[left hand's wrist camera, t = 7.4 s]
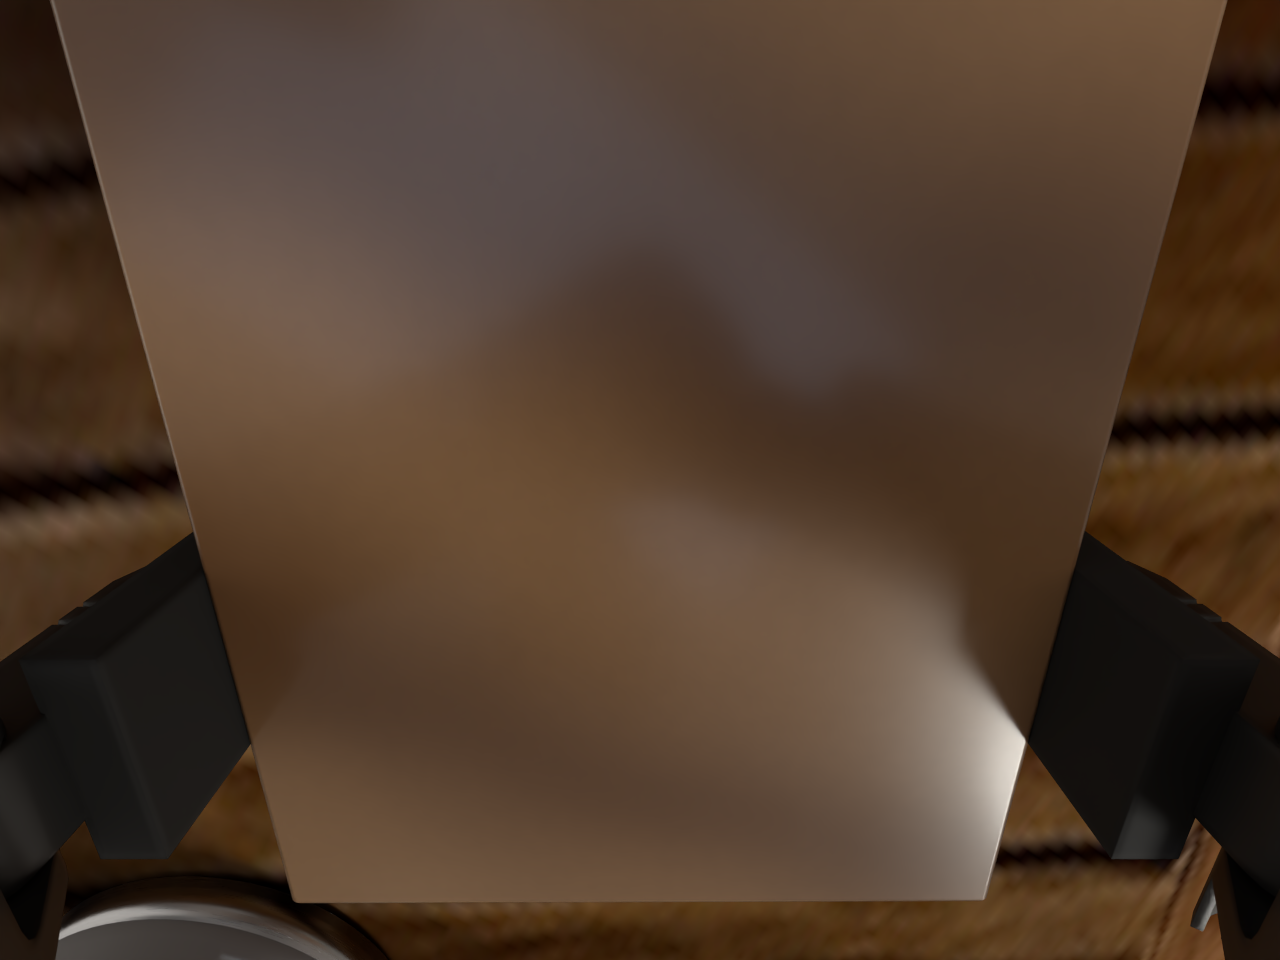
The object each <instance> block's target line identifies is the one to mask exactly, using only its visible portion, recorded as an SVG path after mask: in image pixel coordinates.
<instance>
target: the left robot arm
mask: <svg viewBox="0 0 1280 960" xmlns="http://www.w3.org/2000/svg"><path fill="white" fill-rule="evenodd" d="M83 603H84V605H83V607H76V608H75V609H74V610H72V611H71V612H69V613H68V614H67V615H65V616H64V617H62V618H61V619H60V620H59V623H58V625H51V626H50V627H48V628H47V629H46V630H44V631H43V632H41V633H40V634H39V635H37V636H36V637H34V638H33V639H32V640H30V641H29V642H27V643H26V644H25V645H23V646H22V647H20V648H19V649H18V650H16V651H15V652H13V653H12V654H11V655H9V656H8V657H7V658H5V659H4V660H2V661H1V662H0V960H388V959H387V958H386V956H385V955H384V954H383V953H382V952H381V951H380V950H379V949H378V948H377V947H376V946H375V945H374V944H373V943H372V942H371V941H370V940H369V939H367V938H366V937H365V936H364V935H363V934H362V933H360V932H359V931H358V930H356V929H355V928H353V927H352V926H351V925H349V924H348V923H346V922H345V921H343V920H342V919H340V918H338V917H337V916H335V915H333V914H332V913H330V912H328V911H326V910H324V909H322V908H320V907H318V906H316V905H314V904H312V903H297V902H294V901H293V899H292V895H290V894H287V893H284V892H281V891H278V890H275V889H271V888H268V887H264V886H260V885H256V884H252V883H247V882H242V881H236V880H230V879H223V878H213V877H197V876H176V877H160V878H152V879H144V880H139V881H135V882H130V883H126V884H122V885H119V886H116V887H112V888H110V889H107V890H105V891H102V892H100V893H97V894H95V895H93V896H91V897H89V898H88V899H86V900H84V901H82V902H81V903H79V904H78V905H76V906H75V907H74V908H72V909H71V910H70V911H69V912H68V913H67V914H65V915H64V916H63V910H64V904H65V898H66V892H67V885H68V879H69V878H68V873H67V867H66V863H65V861H64V859H63V857H62V854H61V852H60V850H59V848H60V847H61V846H62V845H63V844H64V843H65V842H66V841H67V840H68V838H69V837H70V836H71V835H72V834H73V833H74V832H75V831H76V830H77V828H78V827H79V826H80V825H81V824H82V823H83V822H84V821H85V822H86V825H87V827H88V830H89V832H90V834H91V837H92V839H93V842H94V844H95V847H96V849H97V851H98V854H99V856H100V859H168V858H169V856H170V855H171V854H172V852H173V851H174V849H175V848H176V847H177V845H178V844H179V842H180V841H181V840H182V838H183V837H184V836H185V834H186V833H187V831H188V830H189V829H190V827H191V826H192V824H193V823H194V822H195V820H196V819H197V818H198V816H199V815H200V813H201V812H202V811H203V809H204V808H205V806H206V805H207V804H208V802H209V801H210V799H211V798H212V797H213V795H214V794H215V793H216V791H217V790H218V788H219V787H220V786H221V784H222V783H223V781H224V780H225V779H226V777H227V776H228V775H229V773H230V772H231V770H232V769H233V768H234V766H235V765H236V763H237V762H238V761H239V759H240V758H241V756H242V755H243V754H244V752H245V751H246V750H247V748H248V747H249V745H250V744H251V743H250V740H249V736H248V732H247V729H246V725H245V721H244V717H243V714H242V710H241V706H240V703H239V699H238V695H237V692H236V688H235V684H234V680H233V677H232V673H231V669H230V666H229V662H228V658H227V655H226V651H225V647H224V643H223V640H222V636H221V632H220V629H219V625H218V621H217V618H216V614H215V610H214V606H213V603H212V599H211V595H210V592H209V588H208V584H207V581H206V577H205V573H204V569H203V566H202V562H201V558H200V555H199V551H198V547H197V544H196V540H195V536H194V532H192V533H191V534H189V535H188V536H187V537H185V538H184V539H183V540H181V541H180V542H178V543H177V544H176V545H174V546H173V547H172V548H170V549H169V550H168V551H166V552H165V553H163V554H162V555H161V556H159V557H158V558H157V559H155V560H154V561H153V562H151V563H150V564H148V565H147V566H145V567H143V568H141V569H139V570H137V571H135V572H132V573H130V574H128V575H126V576H124V577H122V578H119V579H117V580H115V581H113V582H111V583H110V584H109V585H107V586H106V587H104V588H103V589H102V590H100V591H99V592H97V593H96V594H95V595H93V596H92V597H90V598H89V599H88V600H86V601H85V602H83ZM1028 744H1029V745H1030V747H1031V748H1032V749H1033V751H1034V752H1035V753H1036V755H1037V756H1038V758H1039V759H1040V760H1041V762H1042V763H1043V765H1044V766H1045V767H1046V769H1047V770H1048V771H1049V773H1050V774H1051V776H1052V777H1053V778H1054V780H1055V781H1056V783H1057V784H1058V785H1059V787H1060V788H1061V790H1062V791H1063V792H1064V794H1065V795H1066V796H1067V798H1068V799H1069V801H1070V802H1071V803H1072V805H1073V806H1074V808H1075V809H1076V810H1077V812H1078V813H1079V814H1080V816H1081V817H1082V819H1083V820H1084V821H1085V823H1086V824H1087V826H1088V827H1089V828H1090V830H1091V831H1092V833H1093V834H1094V835H1095V837H1096V838H1097V839H1098V841H1099V842H1100V844H1101V845H1102V846H1103V848H1104V849H1105V851H1106V852H1107V853H1108V855H1109V856H1110V857H1111V859H1178V858H1179V856H1180V854H1181V851H1182V849H1183V846H1184V844H1185V842H1186V839H1187V837H1188V834H1189V832H1190V829H1191V827H1192V825H1193V822H1194V820H1195V818H1196V819H1197V820H1198V821H1199V822H1200V823H1201V824H1202V825H1203V826H1204V828H1205V829H1206V830H1207V831H1208V832H1209V833H1210V834H1211V835H1212V836H1213V837H1214V839H1215V840H1216V841H1217V842H1218V843H1219V844H1220V845H1221V846H1222V848H1221V850H1220V852H1219V854H1218V857H1217V859H1216V861H1215V863H1214V866H1213V868H1212V870H1211V872H1210V875H1209V877H1208V879H1207V882H1206V884H1205V886H1204V888H1203V891H1202V893H1201V895H1200V897H1199V900H1198V902H1197V904H1196V906H1195V909H1194V911H1193V915H1192V920H1191V925H1190V926H1191V927H1194V928H1196V929H1198V930H1201V931H1203V930H1204V928H1205V926H1206V923H1207V921H1208V919H1209V917H1210V916H1211V915H1213V914H1216V913H1218V920H1219V926H1220V932H1221V939H1222V944H1223V950H1224V956H1225V960H1280V659H1279V658H1278V657H1277V656H1275V655H1274V654H1272V653H1271V652H1269V651H1268V650H1267V649H1265V648H1264V647H1262V646H1261V645H1260V644H1258V643H1257V642H1255V641H1254V640H1253V639H1251V638H1250V637H1248V636H1247V635H1246V634H1244V633H1243V632H1241V631H1240V630H1238V629H1237V628H1236V627H1234V626H1233V625H1231V624H1230V623H1229V622H1222V621H1221V617H1220V616H1219V615H1217V614H1216V613H1214V612H1213V611H1212V610H1210V609H1209V608H1207V607H1206V606H1205V605H1203V604H1197V602H1196V599H1195V598H1193V597H1192V596H1190V595H1189V594H1188V593H1186V592H1185V591H1183V590H1182V589H1181V588H1179V587H1178V586H1176V585H1175V584H1174V583H1172V582H1171V581H1169V580H1168V579H1166V578H1164V577H1162V576H1160V575H1158V574H1155V573H1153V572H1151V571H1149V570H1147V569H1144V568H1142V567H1140V566H1138V565H1136V564H1133V563H1131V562H1129V561H1125V560H1124V559H1122V558H1121V557H1120V556H1118V555H1117V554H1116V553H1114V552H1113V551H1112V550H1110V549H1109V548H1107V547H1106V546H1105V545H1103V544H1102V543H1101V542H1099V541H1098V540H1097V539H1095V538H1094V537H1092V536H1091V535H1090V534H1088V533H1087V532H1086V531H1085V532H1084V535H1083V539H1082V543H1081V547H1080V550H1079V554H1078V558H1077V561H1076V565H1075V569H1074V573H1073V576H1072V580H1071V584H1070V587H1069V591H1068V595H1067V599H1066V602H1065V606H1064V610H1063V613H1062V617H1061V621H1060V625H1059V628H1058V632H1057V636H1056V640H1055V643H1054V647H1053V651H1052V654H1051V658H1050V662H1049V666H1048V669H1047V673H1046V677H1045V680H1044V684H1043V688H1042V692H1041V695H1040V699H1039V703H1038V706H1037V710H1036V714H1035V718H1034V721H1033V725H1032V729H1031V732H1030V736H1029V740H1028ZM62 916H63V917H62Z"/></svg>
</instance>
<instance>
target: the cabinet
mask: <svg viewBox="0 0 1280 960" xmlns="http://www.w3.org/2000/svg"><path fill="white" fill-rule="evenodd" d="M50 3H51V7H52V11H53V14H54V18H55V22H56V25H57V29H58V33H59V36H60V40H61V44H62V48H63V51H64V55H65V59H66V62H67V66H68V70H69V73H70V77H71V81H72V85H73V88H74V92H75V96H76V99H77V103H78V107H79V110H80V114H81V118H82V122H83V125H84V129H85V133H86V136H87V140H88V144H89V148H90V151H91V155H92V159H93V162H94V166H95V170H96V173H97V177H98V181H99V185H100V188H101V192H102V196H103V199H104V203H105V207H106V210H107V214H108V218H109V222H110V225H111V229H112V233H113V236H114V240H115V244H116V247H117V251H118V255H119V259H120V262H121V266H122V270H123V273H124V277H125V281H126V284H127V288H128V292H129V296H130V299H131V303H132V307H133V310H134V314H135V318H136V321H137V325H138V329H139V333H140V336H141V340H142V344H143V347H144V351H145V355H146V358H147V362H148V366H149V370H150V373H151V377H152V381H153V384H154V388H155V392H156V395H157V399H158V403H159V407H160V410H161V414H162V418H163V421H164V425H165V429H166V432H167V436H168V440H169V444H170V447H171V451H172V455H173V458H174V462H175V466H176V470H177V473H178V477H179V481H180V484H181V488H182V492H183V495H184V499H185V503H186V507H187V510H188V514H189V518H190V521H191V525H192V529H193V532H194V536H195V540H196V544H197V547H198V551H199V555H200V558H201V562H202V566H203V569H204V573H205V577H206V581H207V584H208V588H209V592H210V595H211V599H212V603H213V606H214V610H215V614H216V618H217V621H218V625H219V629H220V632H221V636H222V640H223V643H224V647H225V651H226V655H227V658H228V662H229V666H230V669H231V673H232V677H233V680H234V684H235V688H236V692H237V695H238V699H239V703H240V706H241V710H242V714H243V717H244V721H245V725H246V729H247V732H248V736H249V740H250V743H251V747H252V751H253V755H254V758H255V762H256V766H257V769H258V773H259V777H260V780H261V784H262V788H263V792H264V795H265V799H266V803H267V806H268V810H269V814H270V817H271V821H272V825H273V829H274V832H275V836H276V840H277V843H278V847H279V851H280V854H281V858H282V862H283V866H284V869H285V873H286V877H287V880H288V884H289V888H290V891H291V895H292V899H293V901H294V902H297V903H474V902H788V901H982V900H984V899H985V898H986V896H987V892H988V889H989V885H990V881H991V878H992V874H993V870H994V866H995V863H996V859H997V855H998V852H999V848H1000V844H1001V840H1002V837H1003V833H1004V829H1005V825H1006V822H1007V818H1008V814H1009V811H1010V807H1011V803H1012V799H1013V796H1014V792H1015V788H1016V785H1017V781H1018V777H1019V773H1020V770H1021V766H1022V762H1023V759H1024V755H1025V751H1026V747H1027V744H1028V740H1029V736H1030V732H1031V729H1032V725H1033V721H1034V718H1035V714H1036V710H1037V706H1038V703H1039V699H1040V695H1041V692H1042V688H1043V684H1044V680H1045V677H1046V673H1047V669H1048V666H1049V662H1050V658H1051V654H1052V651H1053V647H1054V643H1055V640H1056V636H1057V632H1058V628H1059V625H1060V621H1061V617H1062V613H1063V610H1064V606H1065V602H1066V599H1067V595H1068V591H1069V587H1070V584H1071V580H1072V576H1073V573H1074V569H1075V565H1076V561H1077V558H1078V554H1079V550H1080V547H1081V543H1082V539H1083V535H1084V532H1085V528H1086V524H1087V520H1088V517H1089V513H1090V509H1091V506H1092V502H1093V498H1094V494H1095V491H1096V487H1097V483H1098V480H1099V476H1100V472H1101V468H1102V465H1103V461H1104V457H1105V454H1106V450H1107V446H1108V442H1109V439H1110V435H1111V431H1112V428H1113V424H1114V420H1115V416H1116V413H1117V409H1118V405H1119V401H1120V398H1121V394H1122V390H1123V387H1124V383H1125V379H1126V375H1127V372H1128V368H1129V364H1130V361H1131V357H1132V353H1133V349H1134V346H1135V342H1136V338H1137V335H1138V331H1139V327H1140V323H1141V320H1142V316H1143V312H1144V308H1145V305H1146V301H1147V297H1148V294H1149V290H1150V286H1151V282H1152V279H1153V275H1154V271H1155V268H1156V264H1157V260H1158V256H1159V253H1160V249H1161V245H1162V242H1163V238H1164V234H1165V230H1166V227H1167V223H1168V219H1169V215H1170V212H1171V208H1172V204H1173V201H1174V197H1175V193H1176V189H1177V186H1178V182H1179V178H1180V175H1181V171H1182V167H1183V163H1184V160H1185V156H1186V152H1187V149H1188V145H1189V141H1190V137H1191V134H1192V130H1193V126H1194V123H1195V119H1196V115H1197V111H1198V108H1199V104H1200V100H1201V96H1202V93H1203V89H1204V85H1205V82H1206V78H1207V74H1208V70H1209V67H1210V63H1211V59H1212V56H1213V52H1214V48H1215V44H1216V41H1217V37H1218V33H1219V30H1220V26H1221V22H1222V18H1223V15H1224V11H1225V7H1226V3H1227V0H50Z"/></svg>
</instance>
